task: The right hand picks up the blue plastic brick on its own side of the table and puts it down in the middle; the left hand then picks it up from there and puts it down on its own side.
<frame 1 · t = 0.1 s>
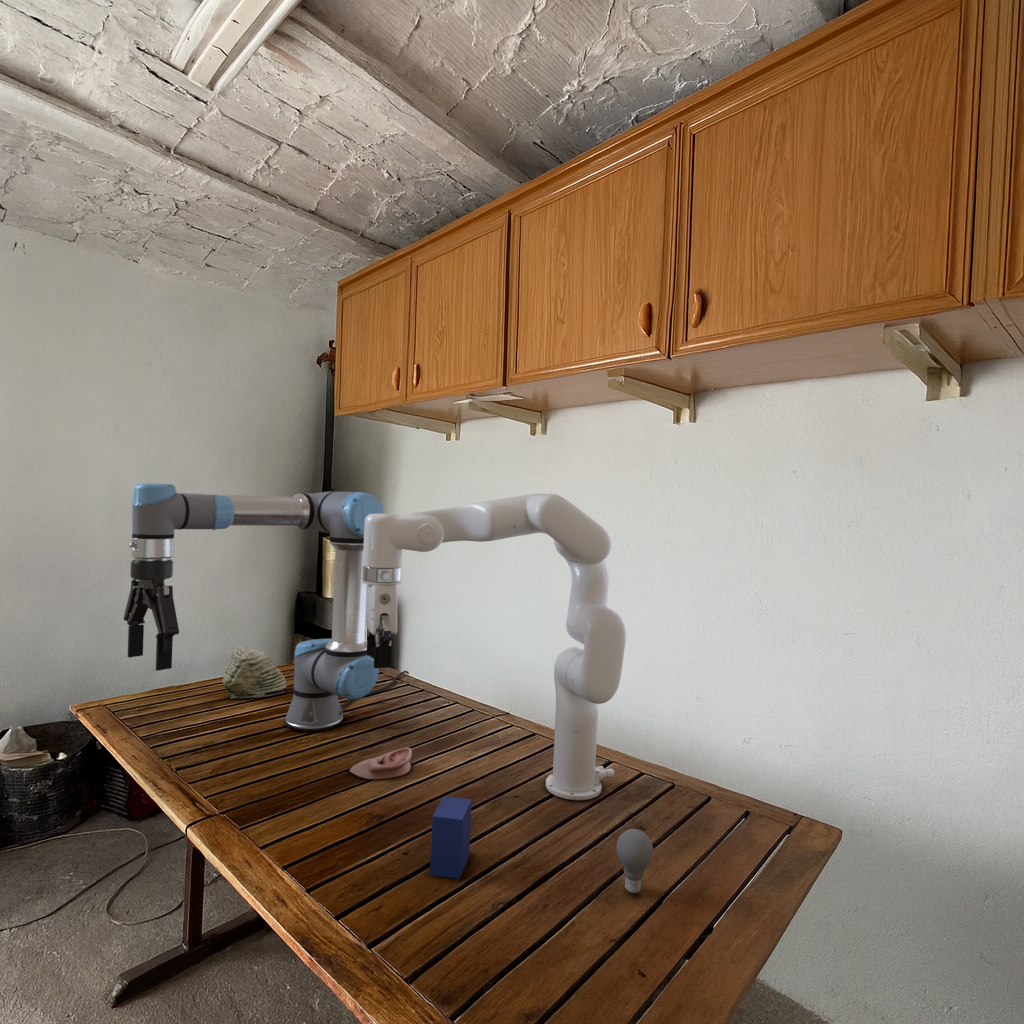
left hand: (149, 662, 129), 28 cm above the table, tool pointing down, fingers open, 13 cm apart
right hand: (378, 661, 126), 31 cm above the table, tool pointing down, fingers open, 9 cm apart
anatomical model: (381, 770, 148), on the table
light bulb: (632, 891, 106), on the table
fossil: (254, 694, 198), on the table
brick: (450, 864, 111), on the table
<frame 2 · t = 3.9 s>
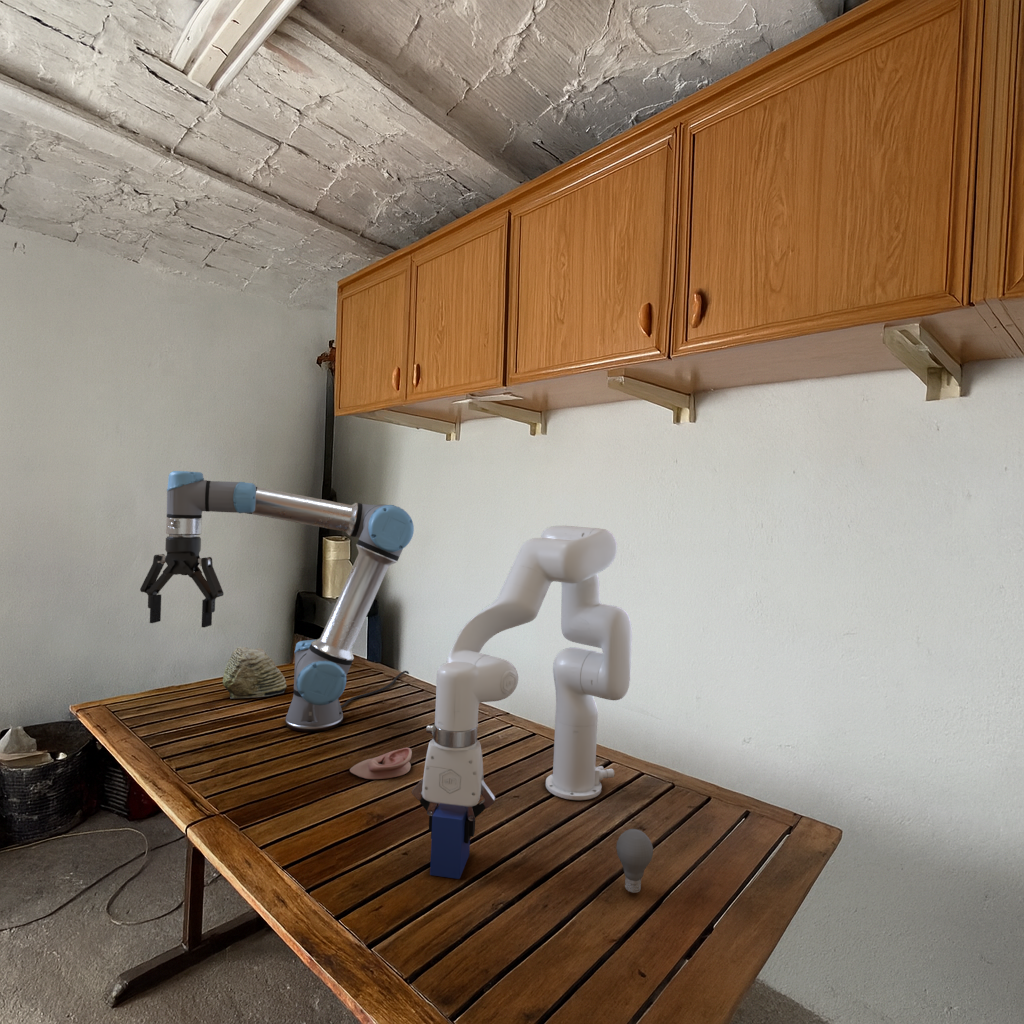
left hand: (180, 624, 152), 31 cm above the table, tool pointing down, fingers open, 13 cm apart
right hand: (451, 836, 111), 5 cm above the table, tool pointing down, fingers closed on brick, 5 cm apart
brick: (450, 864, 111), on the table, touching right hand
everything else where it was.
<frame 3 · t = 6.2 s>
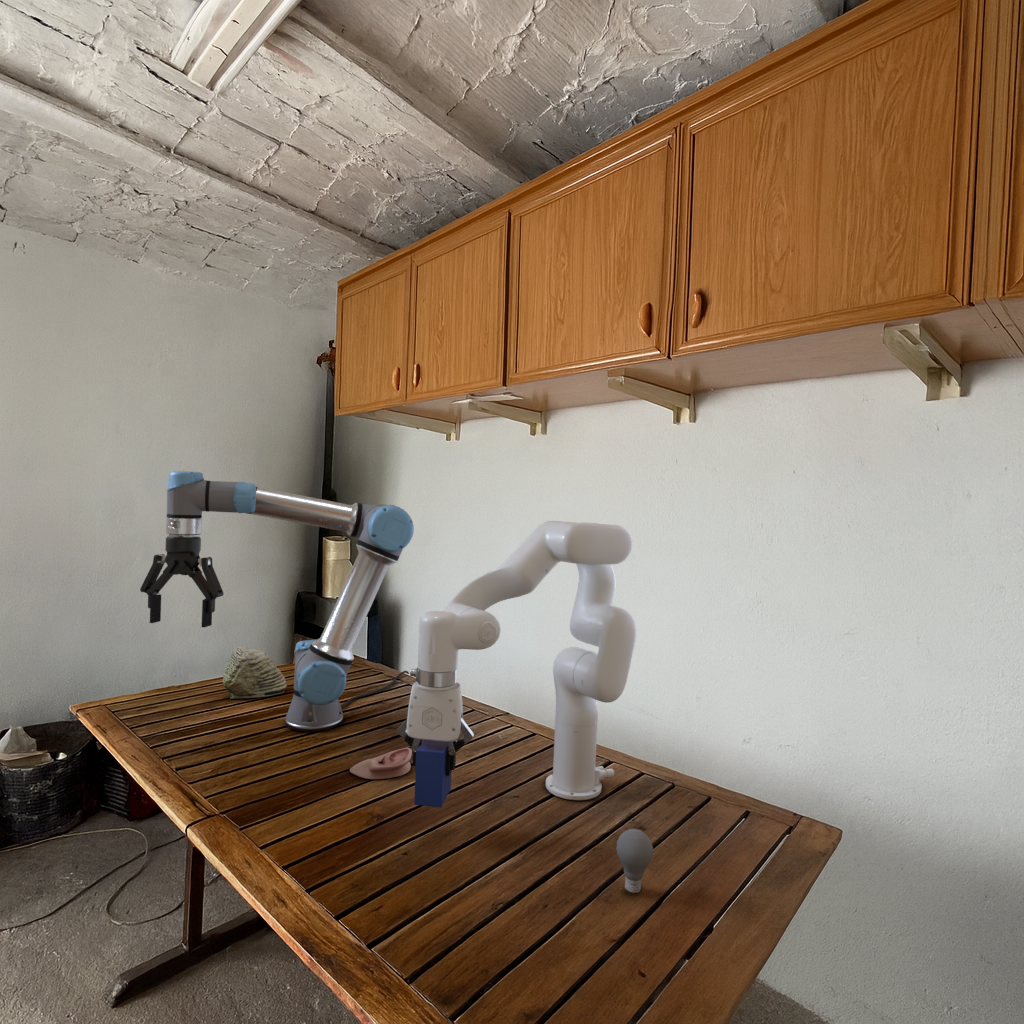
left hand: (180, 624, 152), 31 cm above the table, tool pointing down, fingers open, 13 cm apart
right hand: (433, 770, 121), 12 cm above the table, tool pointing down, fingers closed on brick, 5 cm apart
brick: (433, 796, 121), point 7 cm above the table, touching right hand
everything else where it was.
when the right hand's fingers open (6 cm above the table, at t = 8.6 s): brick drops 1 cm, on the table.
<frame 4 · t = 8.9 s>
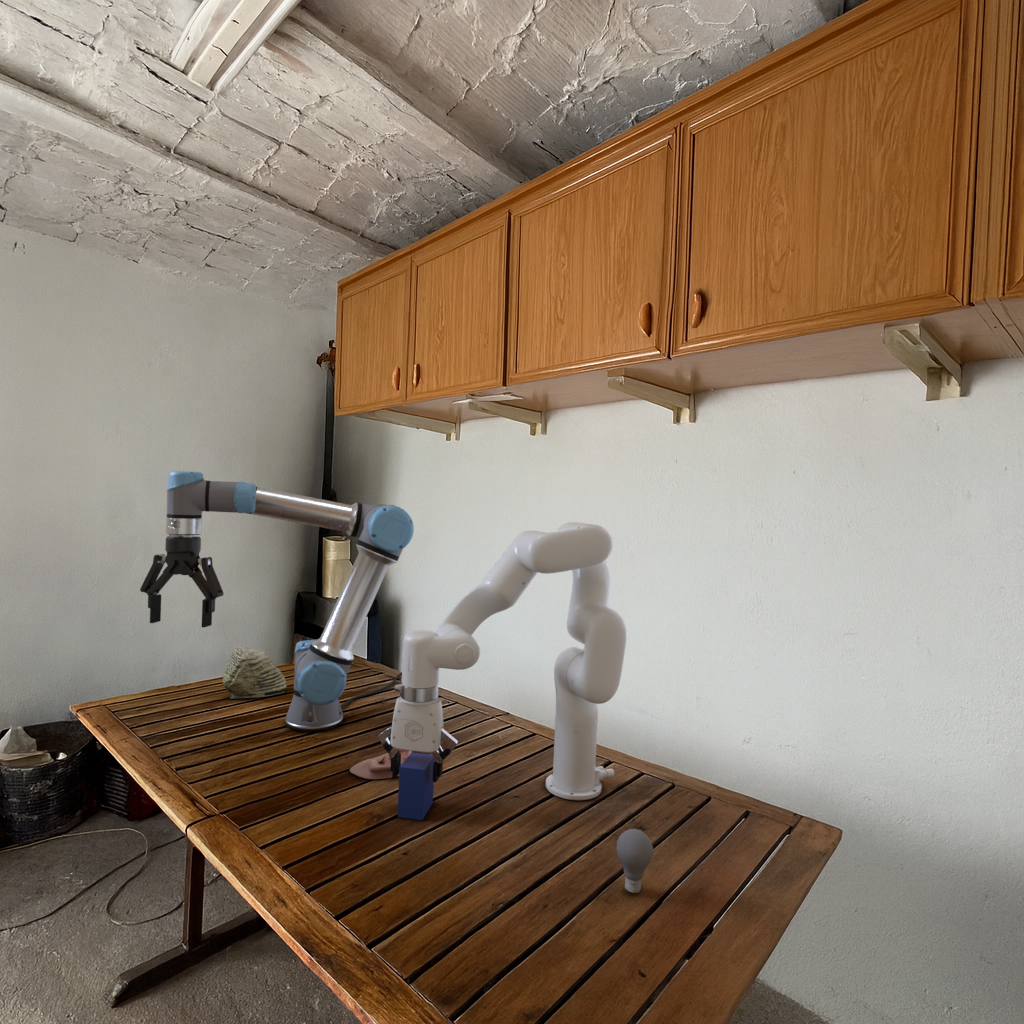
left hand: (180, 624, 152), 31 cm above the table, tool pointing down, fingers open, 13 cm apart
right hand: (416, 776, 130), 7 cm above the table, tool pointing down, fingers open, 8 cm apart
brick: (415, 809, 130), on the table
everything else where it was.
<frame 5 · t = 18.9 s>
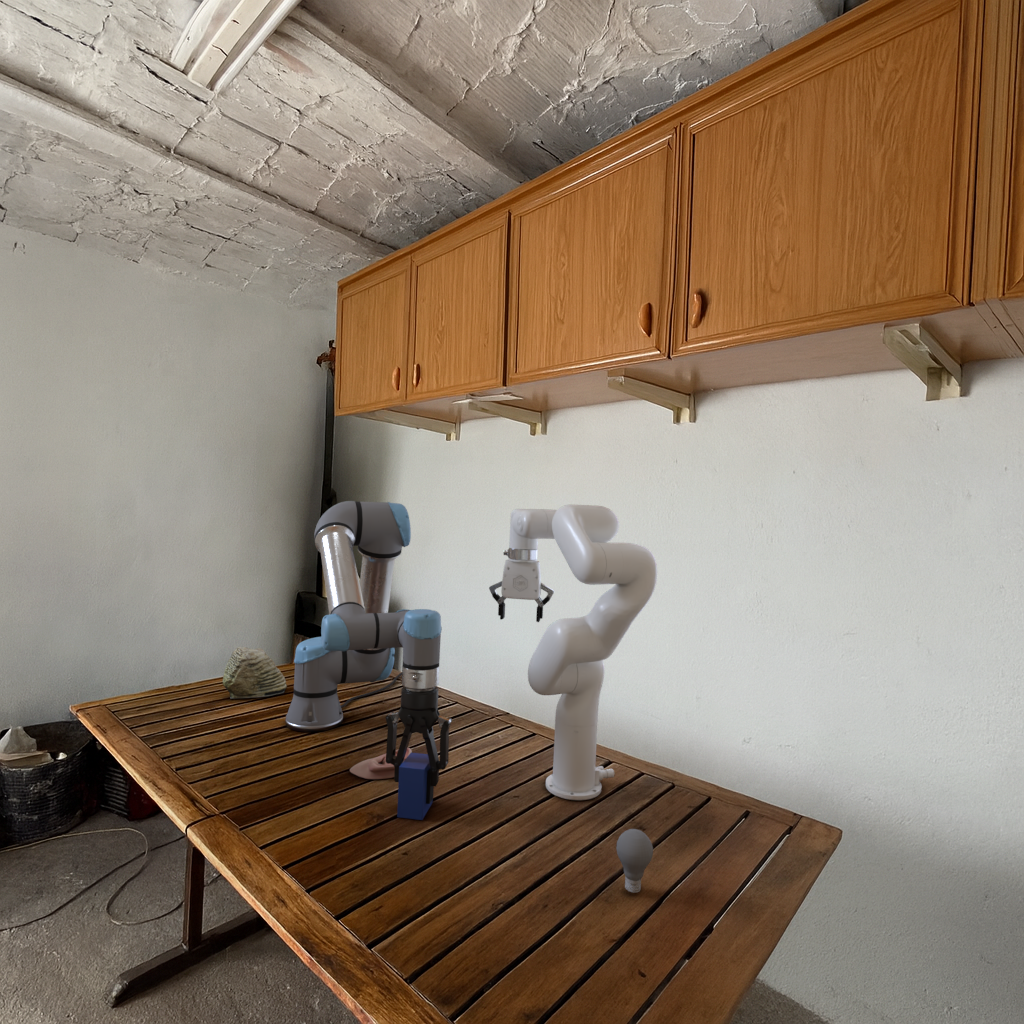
left hand: (415, 798, 130), 2 cm above the table, tool pointing down, fingers closed on brick, 5 cm apart
right hand: (520, 619, 168), 33 cm above the table, tool pointing down, fingers open, 9 cm apart
brick: (415, 809, 130), on the table, touching left hand
everything else where it was.
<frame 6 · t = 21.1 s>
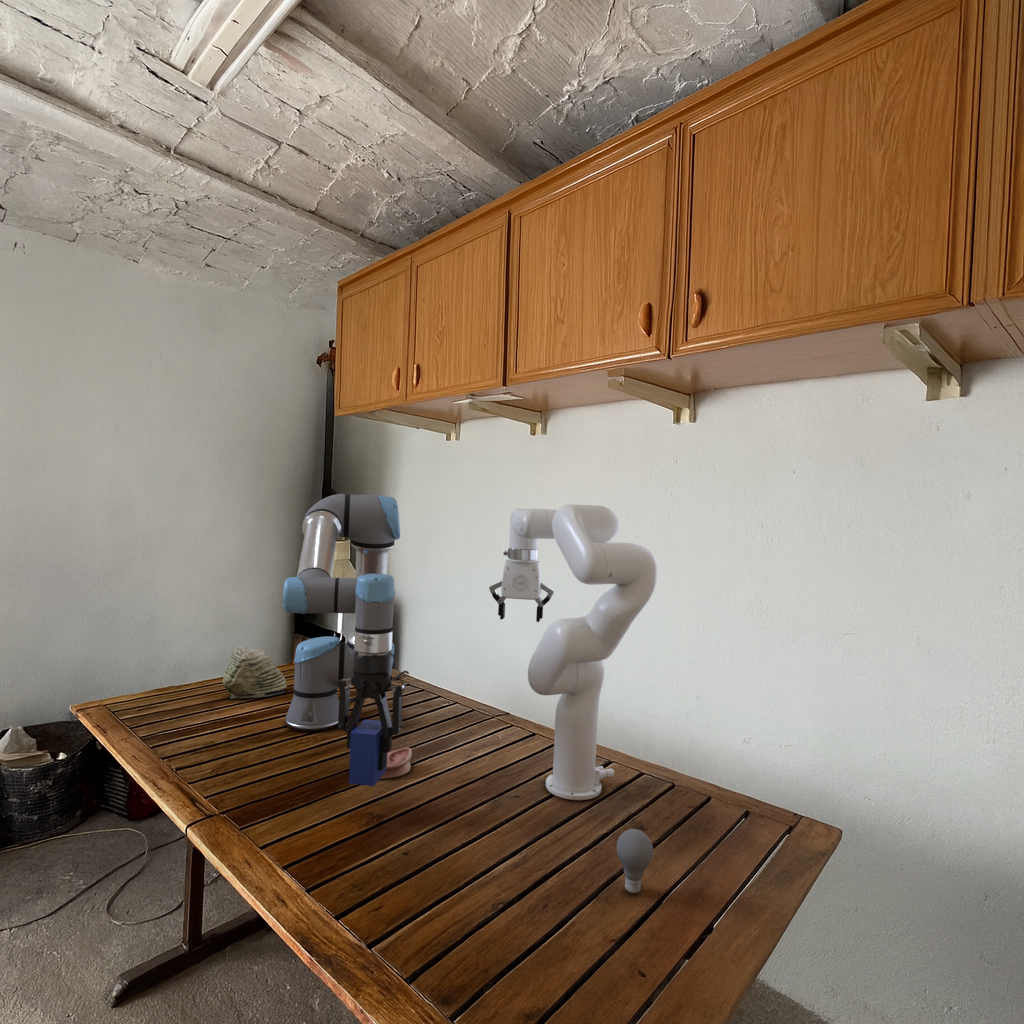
left hand: (368, 765, 128), 10 cm above the table, tool pointing down, fingers closed on brick, 5 cm apart
right hand: (520, 619, 168), 33 cm above the table, tool pointing down, fingers open, 9 cm apart
brick: (368, 776, 128), point 7 cm above the table, touching left hand
everything else where it was.
when the left hand's fingers open (4 cm above the table, at t = 23.8 s): brick drops 1 cm, on the table.
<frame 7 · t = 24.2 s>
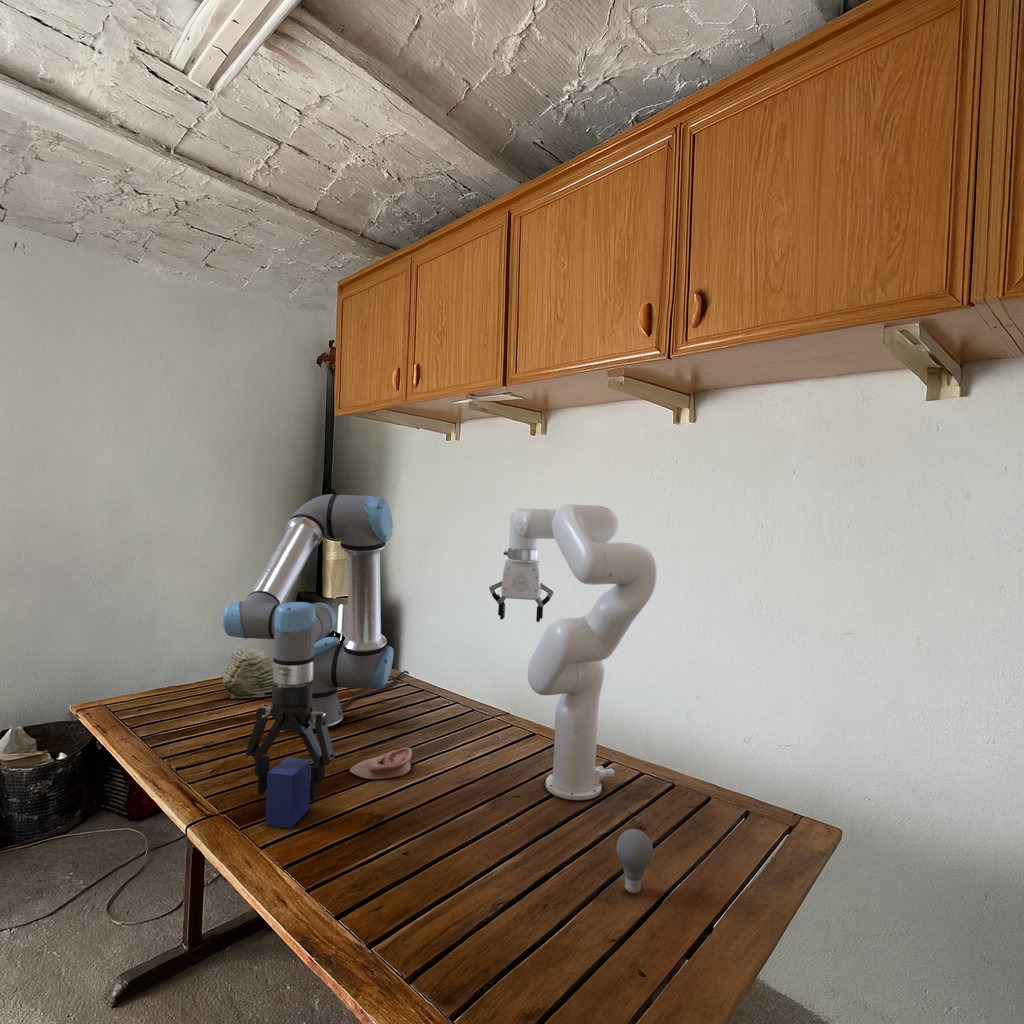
left hand: (288, 794, 125), 5 cm above the table, tool pointing down, fingers open, 10 cm apart
right hand: (520, 619, 168), 33 cm above the table, tool pointing down, fingers open, 9 cm apart
brick: (287, 817, 125), on the table
everything else where it was.
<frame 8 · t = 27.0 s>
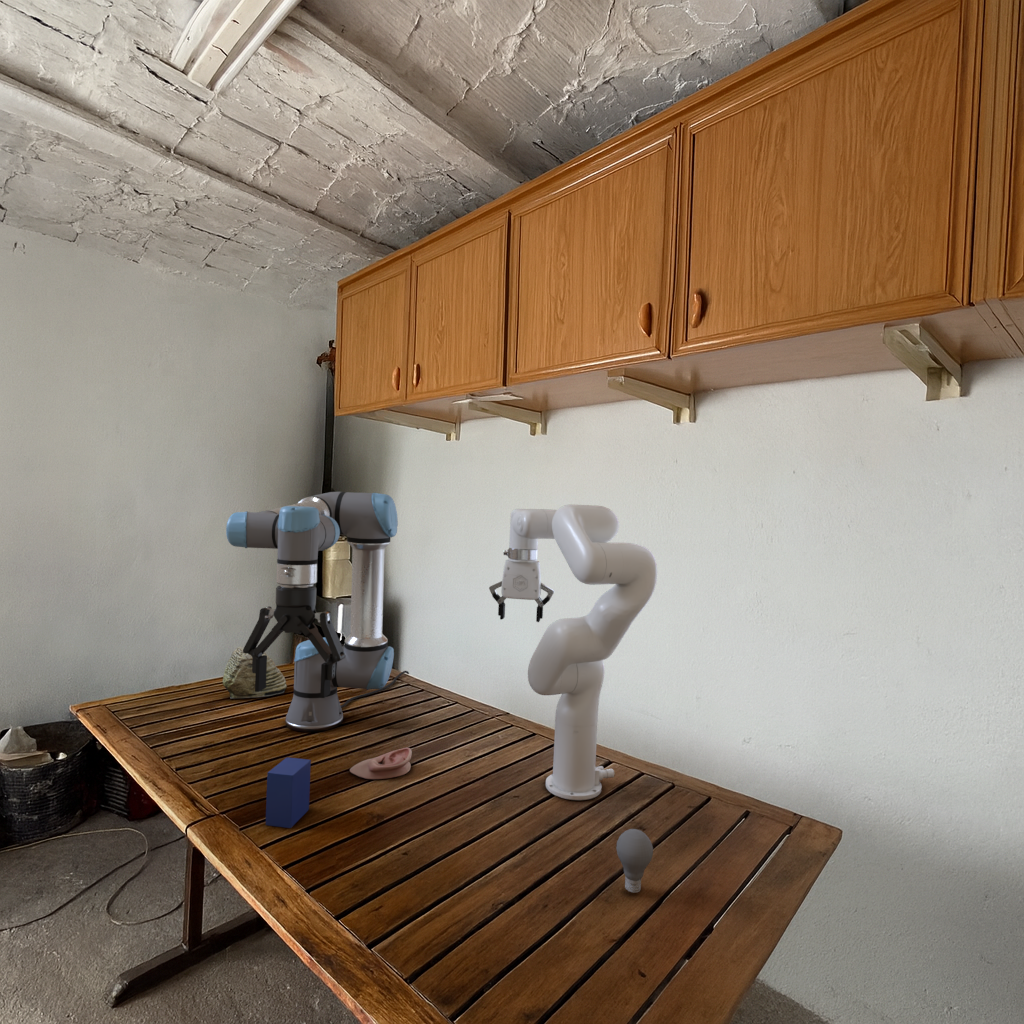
left hand: (292, 693, 124), 25 cm above the table, tool pointing down, fingers open, 13 cm apart
right hand: (520, 619, 168), 33 cm above the table, tool pointing down, fingers open, 9 cm apart
nothing on the table moved.
at the end: brick inside the target area (0.1 cm from its centre), on the table; brick tilted 0°; the two hands never held the brick at the same time; the left hand is holding nothing; the right hand is holding nothing; brick at rest at the end (0.0 cm/s) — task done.
